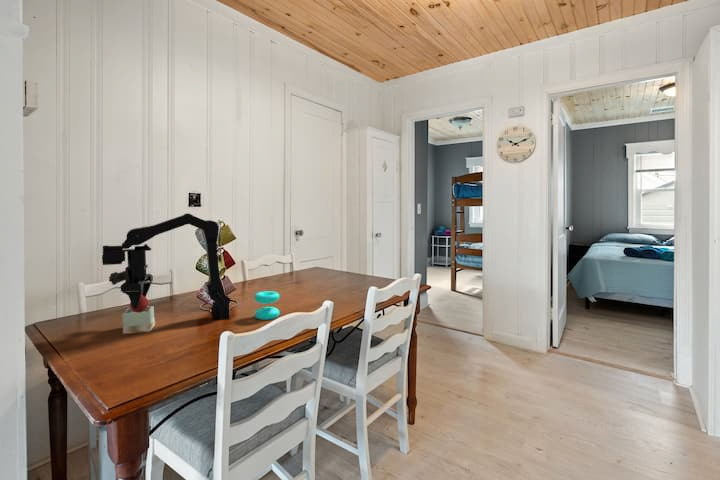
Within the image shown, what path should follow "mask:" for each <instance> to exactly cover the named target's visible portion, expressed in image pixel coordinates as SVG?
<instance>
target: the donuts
mask: <svg viewBox="0 0 720 480" xmlns="http://www.w3.org/2000/svg"><path fill="white" fill-rule="evenodd" d="M279 299H280V293H279V292H276V291H272V290H271V291H267V290H265V291H259V292H257V293H255V295H254V300H255V302H256V303H259V304H265V305H266V304H272V303H275V302H278V301H279ZM254 316H255V318H256V319H258V320H261V321H262V320H263V321H264V320H265V321H268V320H269V321H270V320H274V319H276V318H278V317H279V316H280V310H279V309H278V308H277V307H274V306H263V307H260V308H258V309H257V310H256V311H255V312H254Z"/></svg>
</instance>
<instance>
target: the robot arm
mask: <svg viewBox="0 0 720 480" xmlns="http://www.w3.org/2000/svg"><path fill="white" fill-rule="evenodd" d="M186 225H191V226H192V227H195V228H198V229H200V231H201V234H202V237H203V240H204V243H205V250H206V261H207V270H208V271H207V273H208V280H207V281H206V282H205V281H204V286H205V290H204V292H205V293H206V295H207V296H208V297H209V299H210V300H212V301H213V302H212V305H211V308H210V313H211V316H210V317H211V318H212V320H213V321H214V320H228V319H230V318H231V313H230V311H231V310H230V309H231V308H230V307H231V306H230V303H231V301H232V300H231V298H230V297H229V296H228V295H227V294H226V292H225V289H224V285H223V283H222V279H221V277H220V275H221V274H220V268H219V267H220V266H219V265H220V264H219V256H218V246H217V242H218V237H219V225H218V223H217V222H216V221H214V220H211V219H209V220H208V219H207V220H206V219H205V220H204V219H202V218H200V217H197V216H195V215H193V214H191V213H184V214H183V215H182V214H181V215H180V216H177V217H174V218H171V219H170V218H169V219H168V220H165V221H161V222H159V223H156V224H153V225H147V226H146V225H145V226H142V227H141V226H140V227H135V228H131V229H129V230H128V232H127V233H126V237H125V238H126V239H125V240H124V241H123V242H122V243H121V245H102V255H101V259H102V266H110V265H122V264H123V263H124V262H126V254H127V266H126V267H125V269H124V270H123V271H120V272H117V271H115V272H112V273H110V274H109V275H110V276H109V277H108V281H109V282H110V283H111V284H112V285H113V286H115V285H117V284H118V283H120V282H123V283H122V284H121V285H120V287H119V288H120V292H121V293H123V294H125V295H127V296H128V297H129V301H130V302H131V303H132V306H133V308H134V309H137V307H138V304H139V302H140V299H141V296H142V295H143V296H145V297H146V298H147V296H148V293H149V290H150V287H151V286H152V283H153V281H154V276H153V275H152V274H151V273H147V268H148V267H149V266H148V264H147V253H146V252H149V251H152V248H151V247H150V246H149V245H148V243H146V242H148V241H149V240H151V239H153V238H154V237H156V236H158V235H161V234H163V233H166V232H169V231H172V230H175V229H178V228H181V227H183V226H186ZM142 244H143V245H142ZM133 246H134V248H132V247H133ZM124 281H125V282H124Z"/></svg>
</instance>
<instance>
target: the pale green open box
mask: <svg viewBox="0 0 720 480" xmlns="http://www.w3.org/2000/svg"><path fill="white" fill-rule="evenodd" d="M154 308H155V307H154V305H153V306H148V307H147V308H146V309H145V310H144V311H143V312H139V313H137V312H135V311H133V310H132V309H131V308H130V307H128V308H126V310H124V312H123V313H122V314H121V315H122V318H121V319H122V320H121V321H122V328H123V327H125V326H137V325H148V324H151V322H152V320H153V319H154V318H155V309H154Z"/></svg>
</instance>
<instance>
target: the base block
mask: <svg viewBox="0 0 720 480" xmlns="http://www.w3.org/2000/svg"><path fill="white" fill-rule="evenodd" d="M155 325H156V317H154V319H153V320H152V322H151V324H148V325H137V326H125V327H123V326H122V333H123V334H134V333H135V334H137V333H147V332H151V331H152V329H153V328H154V327H155Z"/></svg>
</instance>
